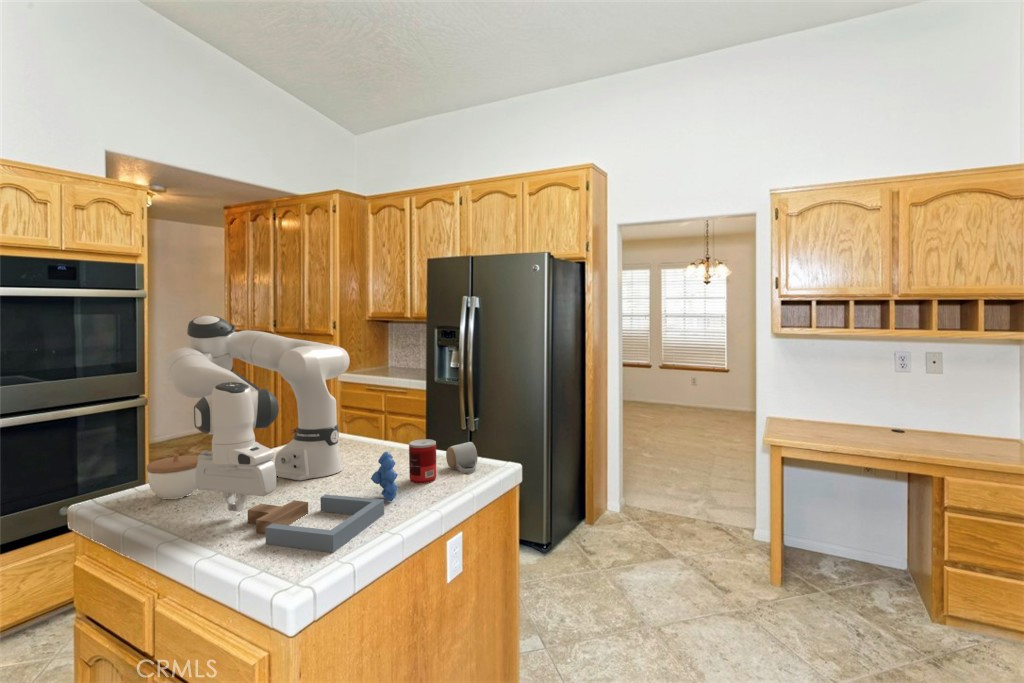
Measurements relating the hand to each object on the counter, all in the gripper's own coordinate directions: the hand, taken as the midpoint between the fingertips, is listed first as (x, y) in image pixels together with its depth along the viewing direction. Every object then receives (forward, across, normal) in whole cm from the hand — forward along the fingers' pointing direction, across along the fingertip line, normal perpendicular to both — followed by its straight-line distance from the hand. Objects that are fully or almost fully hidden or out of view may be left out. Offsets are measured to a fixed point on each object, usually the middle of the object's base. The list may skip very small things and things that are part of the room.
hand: (235, 510), depth 114 cm
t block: (+2, +10, 0) cm, 10 cm away
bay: (+2, +25, 0) cm, 25 cm away
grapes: (+2, +28, +19) cm, 34 cm away
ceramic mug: (+2, +39, +49) cm, 63 cm away
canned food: (+2, +31, +36) cm, 48 cm away
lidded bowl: (+2, -28, +9) cm, 29 cm away
